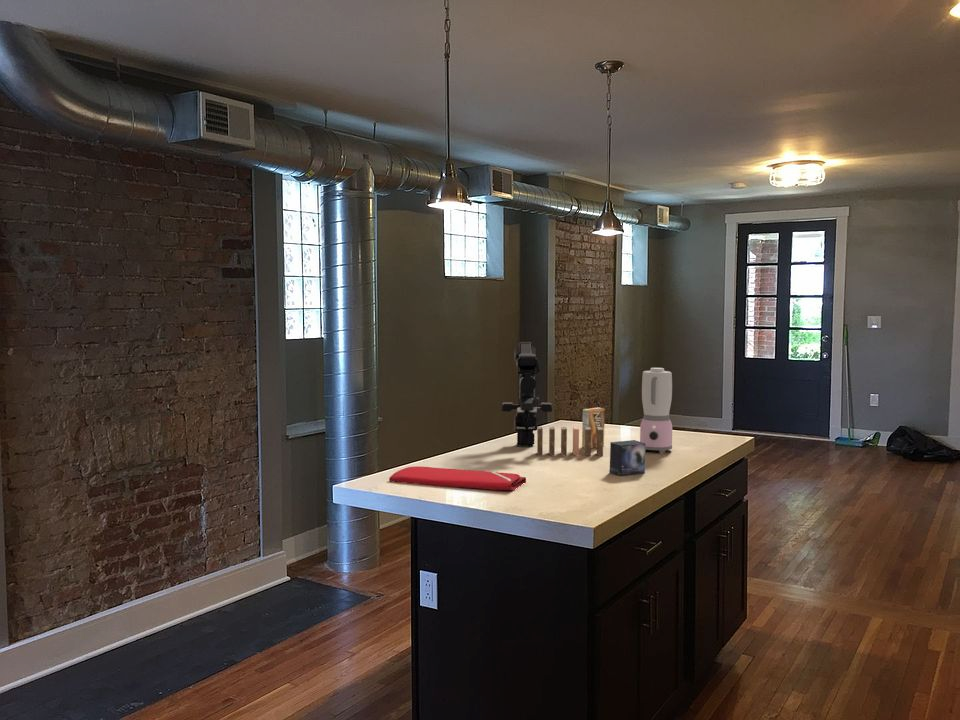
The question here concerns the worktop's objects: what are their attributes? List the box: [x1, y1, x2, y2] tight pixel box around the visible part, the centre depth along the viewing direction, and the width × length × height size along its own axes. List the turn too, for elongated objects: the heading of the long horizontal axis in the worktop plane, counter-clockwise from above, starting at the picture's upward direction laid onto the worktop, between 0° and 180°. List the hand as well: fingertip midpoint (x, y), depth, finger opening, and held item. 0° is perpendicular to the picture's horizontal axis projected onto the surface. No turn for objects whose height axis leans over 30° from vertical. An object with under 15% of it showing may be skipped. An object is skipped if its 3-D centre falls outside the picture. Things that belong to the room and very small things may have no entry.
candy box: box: [581, 407, 606, 449], centre depth 312 cm, size 9×4×15 cm, turn 129°
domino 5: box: [584, 427, 592, 457], centre depth 297 cm, size 2×6×10 cm, turn 177°
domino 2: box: [548, 426, 556, 456], centre depth 298 cm, size 2×6×10 cm, turn 177°
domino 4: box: [572, 426, 580, 456], centre depth 297 cm, size 2×6×10 cm, turn 177°
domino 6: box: [596, 427, 604, 457], centre depth 297 cm, size 2×6×10 cm, turn 177°
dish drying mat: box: [388, 465, 527, 491], centre depth 251 cm, size 16×41×4 cm, turn 68°
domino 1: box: [536, 426, 544, 456], centre depth 298 cm, size 2×6×10 cm, turn 177°
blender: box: [639, 367, 673, 454], centre depth 303 cm, size 16×12×32 cm
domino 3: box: [560, 426, 568, 456], centre depth 297 cm, size 2×6×10 cm, turn 177°
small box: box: [608, 439, 646, 477], centre depth 264 cm, size 11×6×10 cm, turn 117°
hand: (526, 429), depth 298 cm, fingers closed
